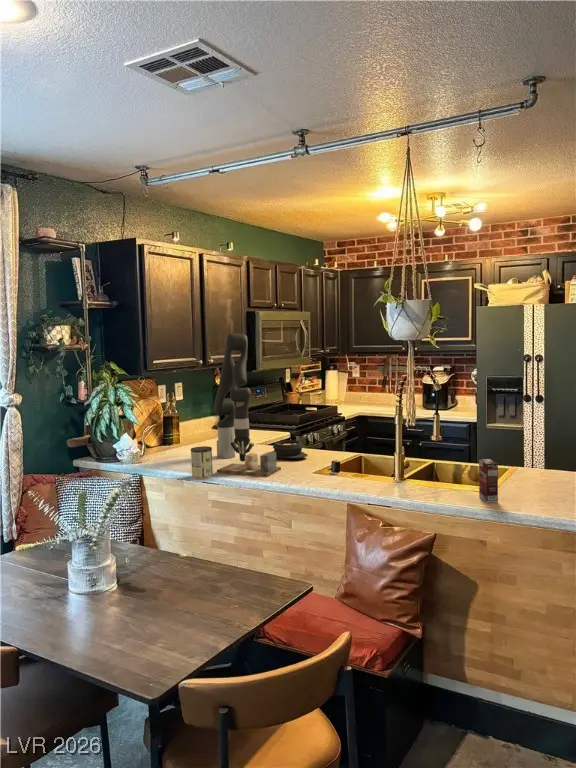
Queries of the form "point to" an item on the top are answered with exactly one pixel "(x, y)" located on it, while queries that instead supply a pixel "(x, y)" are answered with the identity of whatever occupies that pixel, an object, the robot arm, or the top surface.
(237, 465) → the board
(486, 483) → the supplement box
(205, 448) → the coffee can
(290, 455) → the casserole
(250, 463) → the tan wooden block
